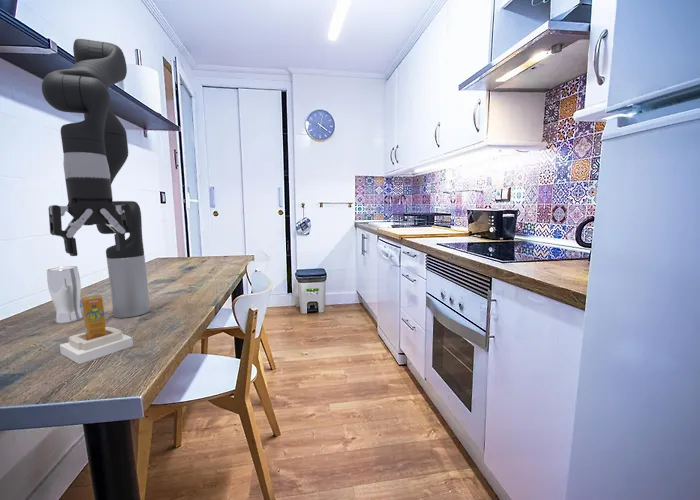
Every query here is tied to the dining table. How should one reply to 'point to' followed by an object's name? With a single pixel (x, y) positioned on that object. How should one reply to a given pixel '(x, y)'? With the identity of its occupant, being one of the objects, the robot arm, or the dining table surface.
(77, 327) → the dining table surface
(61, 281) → the beer glass
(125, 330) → the dining table surface
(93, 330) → the supplement box
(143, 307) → the robot arm
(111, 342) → the display stand
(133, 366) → the dining table surface
